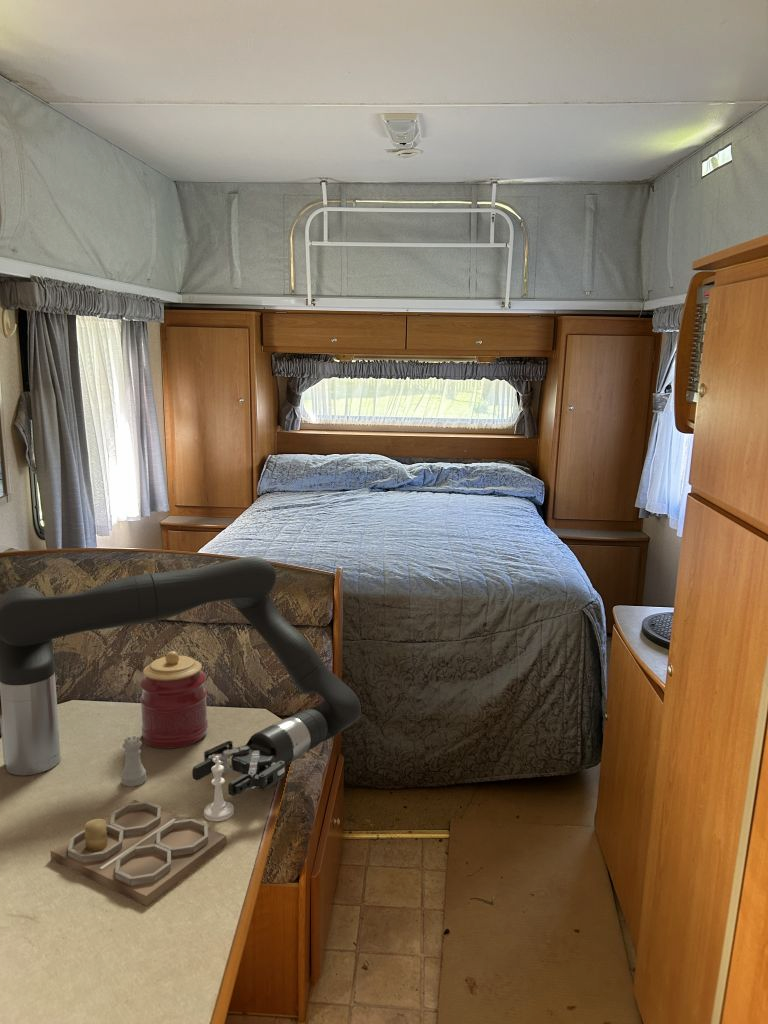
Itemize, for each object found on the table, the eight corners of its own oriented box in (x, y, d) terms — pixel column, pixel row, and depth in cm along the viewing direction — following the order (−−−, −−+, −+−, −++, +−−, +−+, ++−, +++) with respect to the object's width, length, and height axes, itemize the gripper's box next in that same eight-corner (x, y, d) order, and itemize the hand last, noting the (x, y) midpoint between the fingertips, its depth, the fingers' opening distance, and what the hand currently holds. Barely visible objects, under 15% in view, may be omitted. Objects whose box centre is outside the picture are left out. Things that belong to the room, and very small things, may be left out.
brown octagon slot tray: (50, 859, 110) (48, 828, 109) (135, 808, 124) (133, 780, 123) (146, 905, 100) (145, 872, 100) (226, 844, 114) (225, 814, 113)
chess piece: (221, 801, 126) (219, 746, 125) (240, 811, 123) (238, 755, 122) (197, 814, 122) (195, 757, 121) (216, 825, 119) (214, 767, 118)
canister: (192, 752, 143) (189, 665, 140) (129, 747, 145) (125, 661, 142) (218, 723, 156) (215, 642, 153) (159, 718, 158) (156, 639, 155)
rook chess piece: (138, 789, 130) (136, 746, 129) (115, 786, 131) (113, 743, 130) (151, 776, 134) (149, 734, 133) (129, 773, 135) (127, 732, 134)
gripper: (250, 715, 137) (181, 748, 124) (309, 735, 129) (242, 774, 116) (251, 753, 139) (183, 790, 125) (310, 775, 131) (243, 818, 117)
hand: (211, 782), depth 121 cm, fingers open, 8 cm apart
